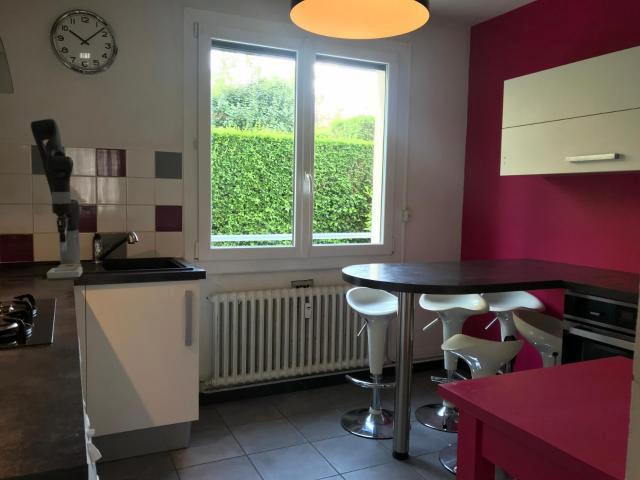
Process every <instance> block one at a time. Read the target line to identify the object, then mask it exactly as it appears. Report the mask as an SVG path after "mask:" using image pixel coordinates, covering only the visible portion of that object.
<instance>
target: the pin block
mask: <svg viewBox="0 0 640 480" xmlns="http://www.w3.org/2000/svg"><path fill="white" fill-rule="evenodd" d="M70 267H82V263H79V264H61V263H60V264H59V265H57V267H56V268H70Z"/></svg>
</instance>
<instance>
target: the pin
mask: <svg viewBox="0 0 640 480" xmlns="http://www.w3.org/2000/svg"><path fill="white" fill-rule="evenodd" d="M61 230H63V229H61ZM66 251H67V240H66V242H61V252H66Z"/></svg>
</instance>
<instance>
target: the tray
mask: <svg viewBox="0 0 640 480" xmlns="http://www.w3.org/2000/svg"><path fill="white" fill-rule="evenodd" d="M81 275H83V266H81V267H70V268H57V267H53V268H51V269H50V270H48V271H47V272H46V280H47V281H48V282H51V281H52V282H53V281H75V280H80V279H81ZM47 281H46V282H47Z"/></svg>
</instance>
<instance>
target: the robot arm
mask: <svg viewBox="0 0 640 480" xmlns="http://www.w3.org/2000/svg"><path fill="white" fill-rule="evenodd" d="M30 129H31V133H32V135H33V139H34V142H35V145H36V147H37V150H38V152H39V156H40V159H41V162H42V163H41V164H42V167H43V168H42V169H43V172H44V175H45V177H46V181H47V185H48V188H49V191H50V195H51V208H52V209H51V210H52V214H55V215H56V216H57V218H56V226H57V233H58V238H59V258H60V259H59V260H60V261H59V262H60V265H61V264H81V252H80V250H81V249H80V248H81V247H80V231H79V229H80V228H79V227H80V205H79V201H78V200H77V199H74V198H73V199H72V196H71V183H70V182H71V177H72V172H73V169H74V160H73V159H72V157H70V156H67V155H66V153H65V150H64V149H63V146H62V140H61V133H60V129H59V127H58V123H57V122H56V120H55V119H54V118H48V119H47V118H46V119H39V120H34V121H31V123H30ZM44 141H47V142H46V144H45V142H44ZM61 229H63V230H61ZM66 240H67V251H66V252H61V242H66Z"/></svg>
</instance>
